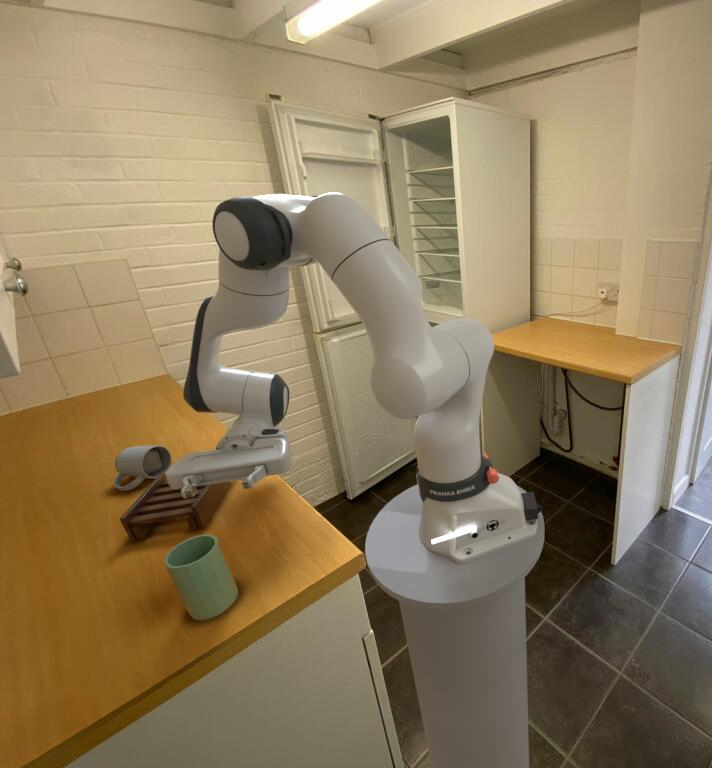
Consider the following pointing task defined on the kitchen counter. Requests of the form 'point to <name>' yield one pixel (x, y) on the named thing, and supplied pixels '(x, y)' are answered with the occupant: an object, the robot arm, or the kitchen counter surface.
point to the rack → (171, 507)
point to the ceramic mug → (141, 464)
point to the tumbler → (202, 576)
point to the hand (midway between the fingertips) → (217, 490)
